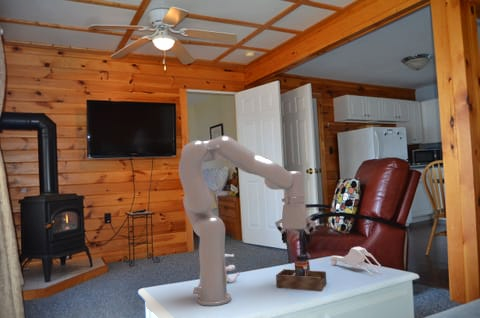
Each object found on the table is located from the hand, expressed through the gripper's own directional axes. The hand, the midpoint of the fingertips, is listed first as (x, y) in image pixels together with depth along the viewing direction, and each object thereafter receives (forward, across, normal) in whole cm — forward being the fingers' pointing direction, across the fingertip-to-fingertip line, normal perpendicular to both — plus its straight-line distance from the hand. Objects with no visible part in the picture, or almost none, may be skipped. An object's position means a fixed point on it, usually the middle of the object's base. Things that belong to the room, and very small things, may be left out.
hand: (296, 243), depth 151 cm
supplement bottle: (+16, +2, +1) cm, 16 cm away
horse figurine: (+17, +17, +31) cm, 39 cm away
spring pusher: (+16, -1, +1) cm, 16 cm away
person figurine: (+18, -33, -7) cm, 38 cm away
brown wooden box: (+17, +1, +1) cm, 17 cm away
